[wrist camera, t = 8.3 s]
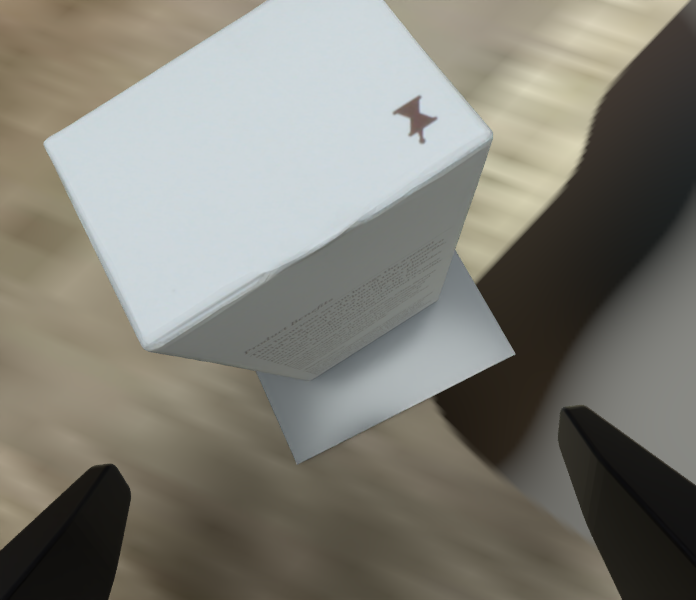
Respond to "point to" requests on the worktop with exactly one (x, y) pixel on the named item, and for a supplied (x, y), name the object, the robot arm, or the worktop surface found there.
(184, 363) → the worktop surface
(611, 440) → the robot arm
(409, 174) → the skincare box
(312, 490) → the worktop surface
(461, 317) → the plate
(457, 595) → the worktop surface
